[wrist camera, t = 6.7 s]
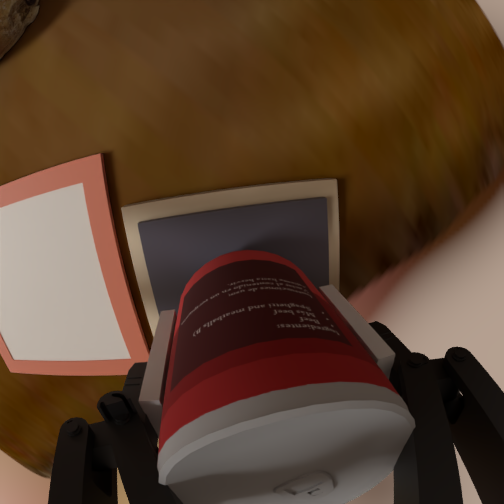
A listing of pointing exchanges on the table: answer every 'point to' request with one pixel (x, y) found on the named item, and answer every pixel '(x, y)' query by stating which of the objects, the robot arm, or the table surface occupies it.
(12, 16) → the bread roll
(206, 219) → the ink pad
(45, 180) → the print sheet
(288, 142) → the table surface
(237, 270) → the canned food
